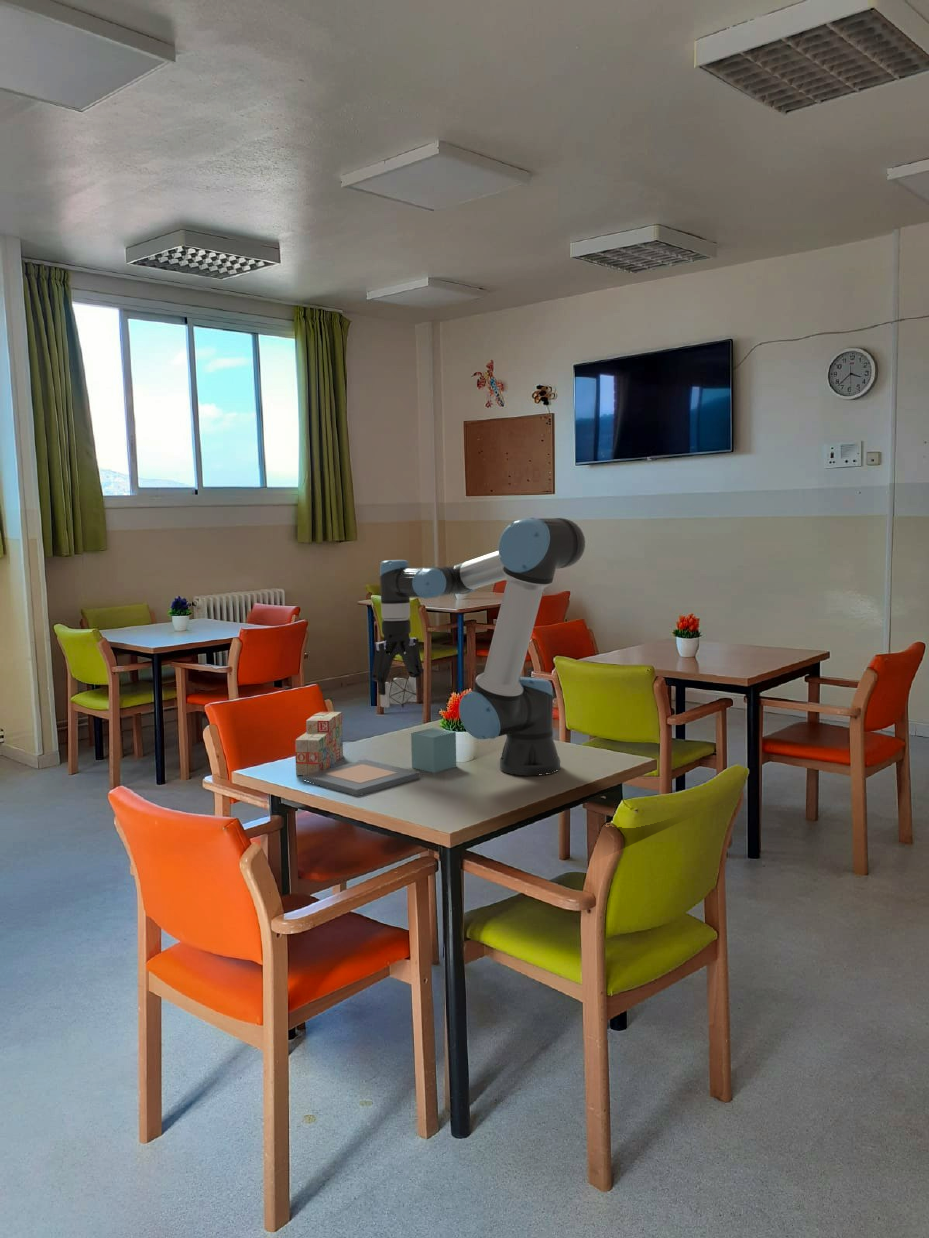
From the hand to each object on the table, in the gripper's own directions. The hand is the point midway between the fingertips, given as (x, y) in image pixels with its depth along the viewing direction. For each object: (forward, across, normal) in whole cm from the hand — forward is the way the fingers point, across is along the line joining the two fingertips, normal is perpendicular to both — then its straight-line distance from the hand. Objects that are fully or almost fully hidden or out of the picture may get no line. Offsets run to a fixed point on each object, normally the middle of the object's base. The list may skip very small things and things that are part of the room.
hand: (398, 704), depth 253 cm
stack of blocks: (+15, +18, -10) cm, 26 cm away
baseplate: (+15, +21, +9) cm, 27 cm away
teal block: (+15, +1, +14) cm, 20 cm away
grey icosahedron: (+1, 0, 0) cm, 1 cm away
